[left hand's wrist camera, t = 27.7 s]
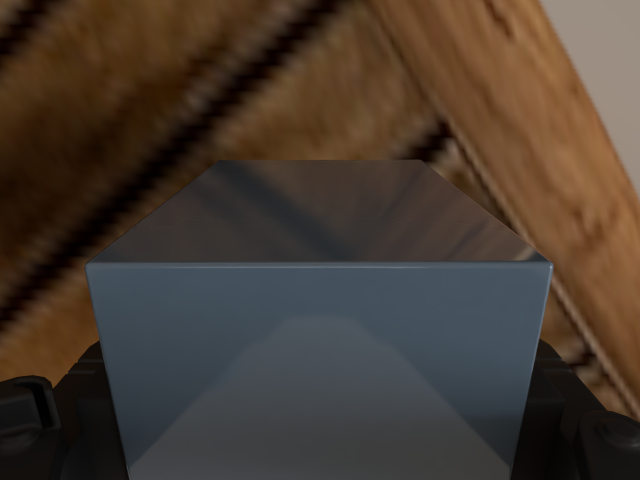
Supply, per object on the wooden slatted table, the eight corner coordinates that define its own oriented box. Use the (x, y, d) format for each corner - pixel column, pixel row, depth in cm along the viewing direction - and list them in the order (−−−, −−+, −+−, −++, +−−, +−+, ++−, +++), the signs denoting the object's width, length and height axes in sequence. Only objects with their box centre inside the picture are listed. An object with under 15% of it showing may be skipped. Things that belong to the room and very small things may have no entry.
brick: (422, 159, 15) (557, 262, 7) (407, 344, 18) (489, 592, 9) (217, 160, 15) (80, 263, 7) (233, 344, 18) (151, 592, 9)
